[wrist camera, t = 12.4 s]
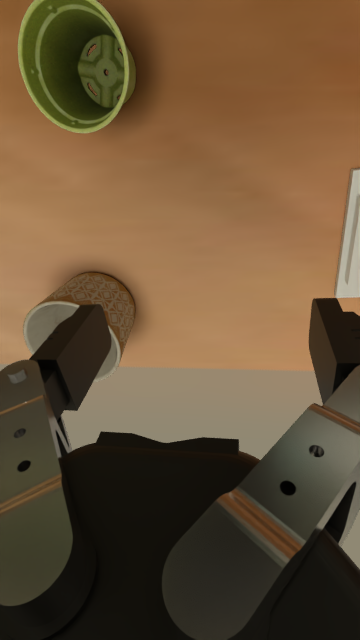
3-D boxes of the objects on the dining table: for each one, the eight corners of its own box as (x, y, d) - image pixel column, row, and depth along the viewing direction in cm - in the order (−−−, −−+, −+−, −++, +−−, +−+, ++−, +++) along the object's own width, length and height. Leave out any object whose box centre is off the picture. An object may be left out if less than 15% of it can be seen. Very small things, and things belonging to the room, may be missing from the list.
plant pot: (171, 80, 34) (152, 75, 27) (109, 145, 38) (78, 156, 31) (107, -16, 31) (64, -51, 24) (47, 67, 35) (-4, 58, 28)
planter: (85, 246, 46) (47, 280, 37) (158, 302, 48) (139, 345, 40) (47, 305, 52) (8, 345, 44) (114, 350, 55) (90, 397, 46)
